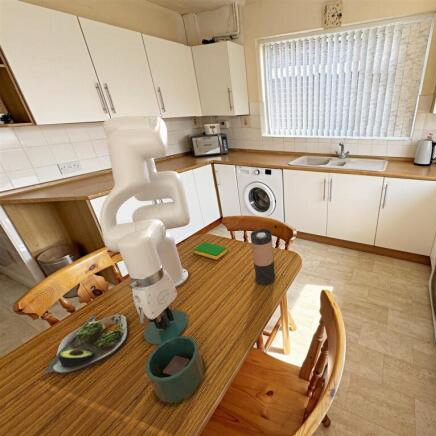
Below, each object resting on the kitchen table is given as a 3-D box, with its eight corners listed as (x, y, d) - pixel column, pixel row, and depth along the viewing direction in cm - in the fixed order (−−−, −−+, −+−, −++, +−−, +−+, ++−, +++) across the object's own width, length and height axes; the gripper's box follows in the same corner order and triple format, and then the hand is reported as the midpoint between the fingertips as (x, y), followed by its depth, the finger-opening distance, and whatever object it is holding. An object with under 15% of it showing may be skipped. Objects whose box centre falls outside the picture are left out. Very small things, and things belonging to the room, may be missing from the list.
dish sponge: (217, 260, 105) (216, 255, 104) (194, 253, 111) (193, 248, 110) (227, 251, 111) (226, 247, 110) (205, 245, 117) (204, 241, 116)
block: (166, 383, 58) (162, 372, 56) (179, 366, 61) (175, 355, 60) (181, 388, 56) (177, 377, 55) (193, 370, 60) (190, 359, 58)
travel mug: (272, 286, 89) (268, 239, 80) (252, 283, 90) (246, 238, 82) (277, 273, 96) (274, 229, 87) (259, 271, 97) (254, 228, 89)
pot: (145, 395, 56) (134, 372, 52) (177, 353, 65) (170, 331, 62) (184, 410, 53) (175, 387, 49) (212, 363, 62) (206, 341, 59)
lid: (135, 340, 69) (127, 324, 66) (165, 309, 79) (160, 294, 77) (169, 350, 66) (162, 334, 63) (196, 317, 76) (191, 301, 73)
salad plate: (62, 331, 73) (55, 320, 71) (129, 307, 81) (125, 297, 79) (43, 388, 58) (33, 376, 56) (128, 352, 66) (122, 340, 64)
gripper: (133, 299, 56) (154, 350, 64) (180, 260, 70) (193, 306, 78) (109, 293, 58) (133, 344, 66) (159, 256, 72) (174, 301, 80)
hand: (165, 323), depth 72 cm, fingers closed on lid, 2 cm apart
